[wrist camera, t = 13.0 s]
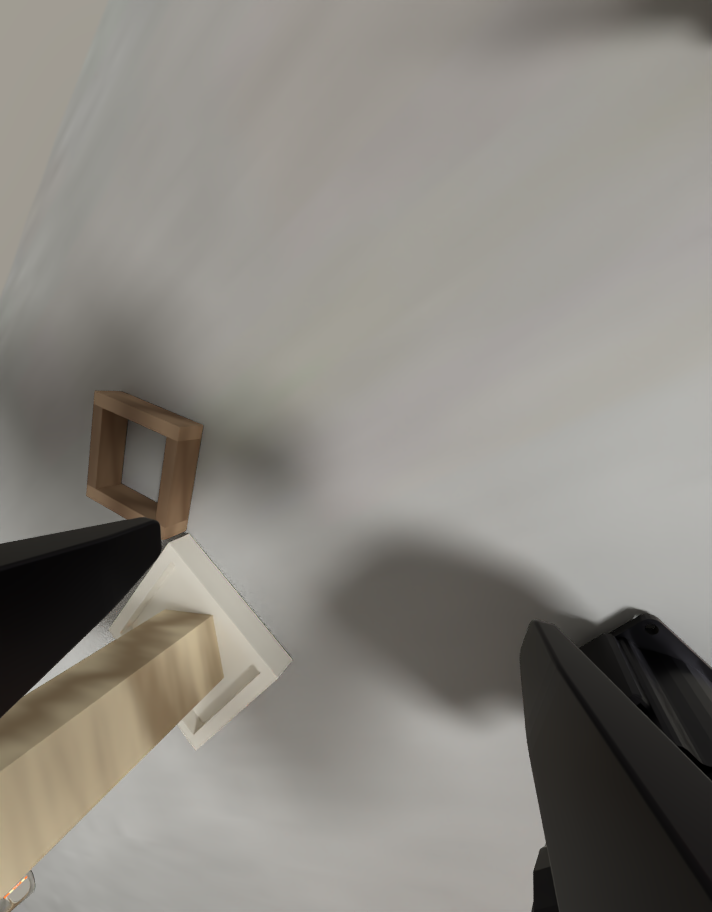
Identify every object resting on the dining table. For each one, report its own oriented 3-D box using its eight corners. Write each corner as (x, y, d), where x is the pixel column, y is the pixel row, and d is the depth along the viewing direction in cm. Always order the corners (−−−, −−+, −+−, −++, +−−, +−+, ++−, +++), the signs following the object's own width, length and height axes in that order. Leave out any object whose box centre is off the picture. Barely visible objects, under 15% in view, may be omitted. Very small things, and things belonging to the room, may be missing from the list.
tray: (292, 659, 25) (278, 678, 23) (212, 731, 29) (195, 751, 28) (189, 533, 27) (168, 542, 25) (129, 617, 31) (108, 629, 30)
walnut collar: (203, 425, 25) (179, 427, 23) (186, 530, 27) (163, 540, 25) (121, 391, 28) (94, 390, 26) (111, 489, 30) (86, 495, 28)
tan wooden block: (212, 614, 26) (-30, 793, 14) (223, 677, 27) (-1, 900, 15) (165, 609, 28) (-83, 762, 16) (176, 667, 29) (-56, 857, 17)
